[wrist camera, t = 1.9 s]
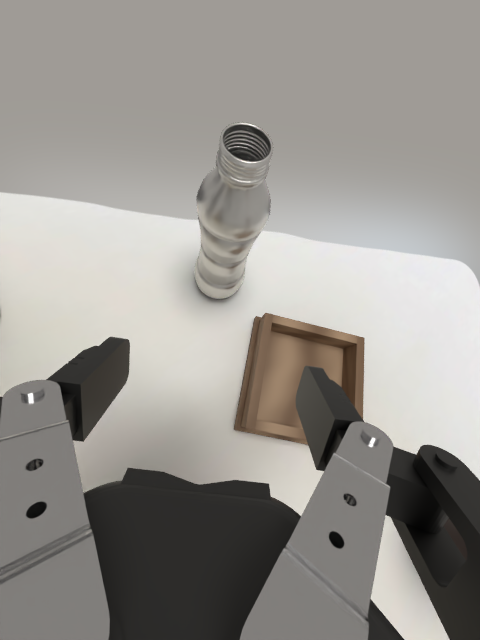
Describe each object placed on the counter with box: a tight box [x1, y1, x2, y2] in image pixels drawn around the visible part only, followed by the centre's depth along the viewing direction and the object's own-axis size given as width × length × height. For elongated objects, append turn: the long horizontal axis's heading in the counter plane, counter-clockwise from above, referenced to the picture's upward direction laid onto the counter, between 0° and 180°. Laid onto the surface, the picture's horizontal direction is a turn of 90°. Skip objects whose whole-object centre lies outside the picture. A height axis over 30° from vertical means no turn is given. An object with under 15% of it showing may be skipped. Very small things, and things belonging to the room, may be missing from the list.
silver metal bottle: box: [194, 122, 273, 299], centre depth 26 cm, size 6×7×20 cm
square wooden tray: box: [234, 313, 364, 444], centre depth 31 cm, size 14×14×4 cm
